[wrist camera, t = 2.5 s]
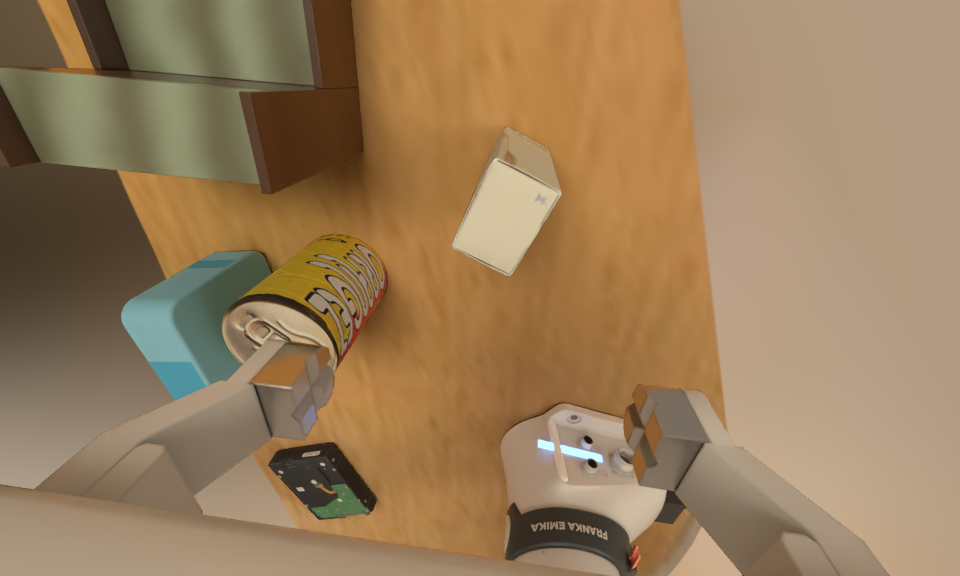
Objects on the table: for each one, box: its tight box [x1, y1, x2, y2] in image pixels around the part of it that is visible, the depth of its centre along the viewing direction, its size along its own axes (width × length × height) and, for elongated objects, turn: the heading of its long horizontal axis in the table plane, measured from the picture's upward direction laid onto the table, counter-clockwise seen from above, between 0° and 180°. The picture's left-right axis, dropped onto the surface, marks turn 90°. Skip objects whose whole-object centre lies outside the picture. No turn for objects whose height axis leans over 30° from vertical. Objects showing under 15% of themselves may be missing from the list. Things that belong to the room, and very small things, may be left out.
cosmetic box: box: [452, 127, 561, 276], centre depth 26 cm, size 6×4×12 cm
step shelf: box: [0, 0, 363, 194], centre depth 22 cm, size 16×15×14 cm
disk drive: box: [268, 443, 376, 520], centre depth 56 cm, size 10×3×15 cm
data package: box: [121, 251, 272, 401], centre depth 35 cm, size 12×4×12 cm, turn 4°
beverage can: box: [222, 234, 388, 372], centre depth 33 cm, size 9×9×12 cm
